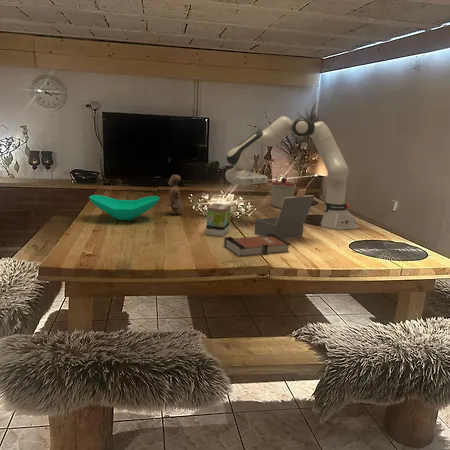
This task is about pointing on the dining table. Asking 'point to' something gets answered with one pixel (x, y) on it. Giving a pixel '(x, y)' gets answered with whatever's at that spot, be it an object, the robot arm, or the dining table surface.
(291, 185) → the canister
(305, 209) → the lid
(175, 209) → the clay figurine
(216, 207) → the tea box
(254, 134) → the robot arm
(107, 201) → the table top decor
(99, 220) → the dining table surface
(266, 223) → the box
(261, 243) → the book
